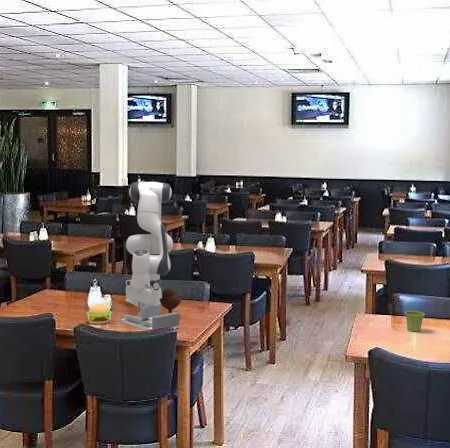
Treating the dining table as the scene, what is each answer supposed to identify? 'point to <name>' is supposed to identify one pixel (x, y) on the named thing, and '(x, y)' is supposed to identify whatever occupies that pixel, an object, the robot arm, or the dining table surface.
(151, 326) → the grey mounting bracket
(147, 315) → the gauge carriage
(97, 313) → the hamburger
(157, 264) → the robot arm
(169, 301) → the ice cream bowl
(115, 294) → the dining table surface
